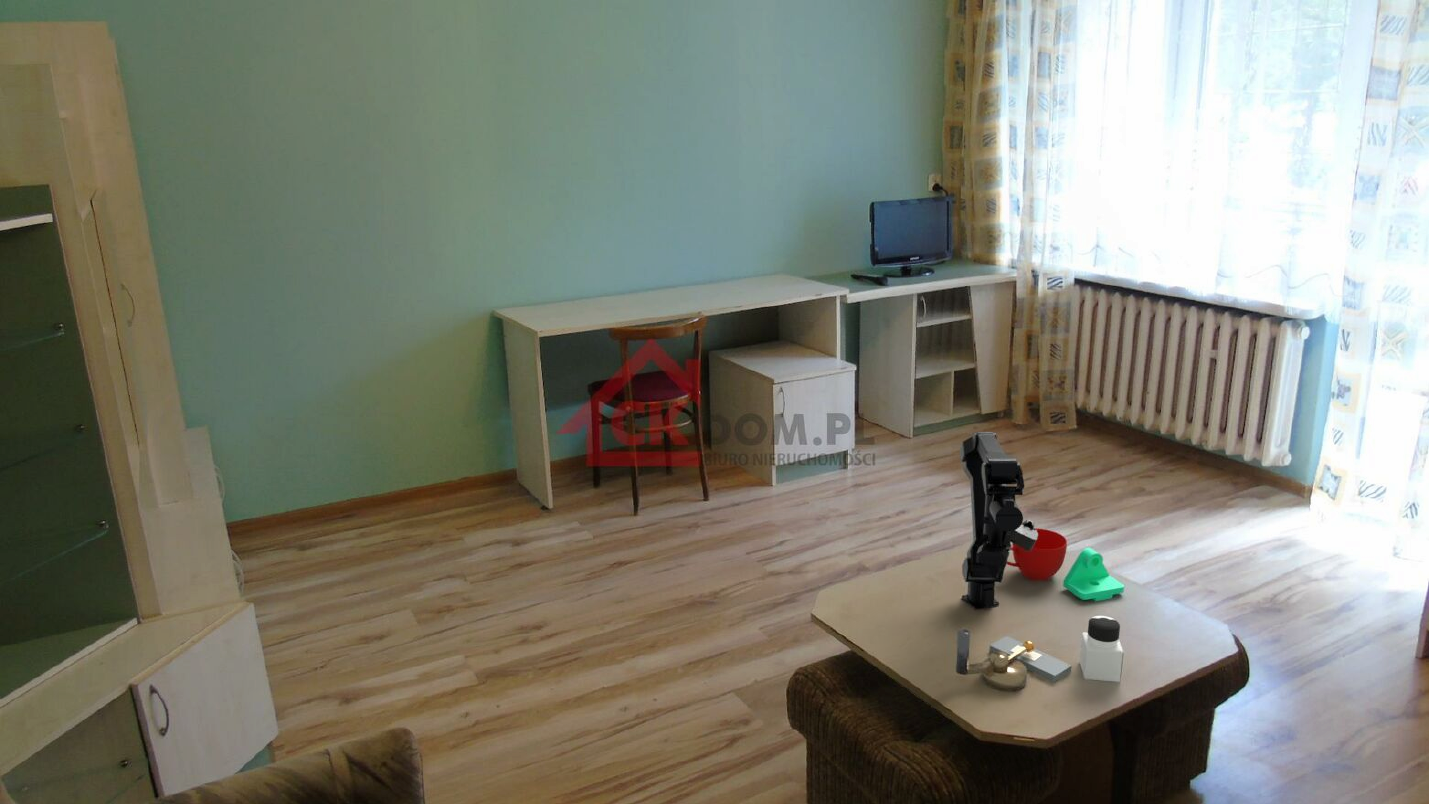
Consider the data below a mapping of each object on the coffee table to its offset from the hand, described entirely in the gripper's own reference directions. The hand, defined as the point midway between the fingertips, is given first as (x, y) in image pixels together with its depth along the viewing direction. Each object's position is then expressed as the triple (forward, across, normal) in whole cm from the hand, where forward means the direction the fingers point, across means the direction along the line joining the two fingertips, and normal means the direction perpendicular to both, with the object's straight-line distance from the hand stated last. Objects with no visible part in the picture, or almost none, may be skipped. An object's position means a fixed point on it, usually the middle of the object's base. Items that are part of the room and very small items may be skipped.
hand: (994, 577), depth 221 cm
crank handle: (+13, -19, -4) cm, 23 cm away
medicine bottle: (+13, -10, -23) cm, 29 cm away
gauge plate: (+13, -11, -9) cm, 19 cm away
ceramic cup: (+13, +30, -6) cm, 33 cm away
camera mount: (+13, +26, -21) cm, 36 cm away
